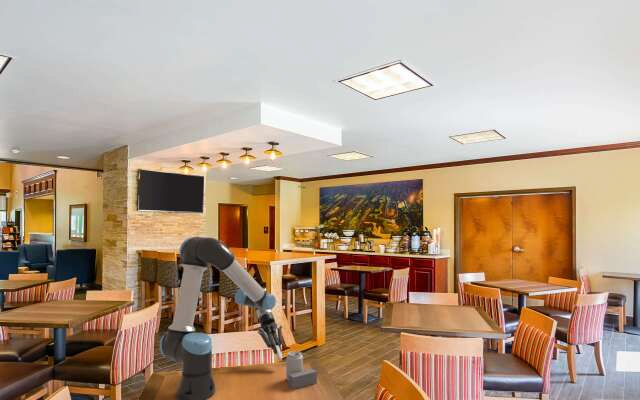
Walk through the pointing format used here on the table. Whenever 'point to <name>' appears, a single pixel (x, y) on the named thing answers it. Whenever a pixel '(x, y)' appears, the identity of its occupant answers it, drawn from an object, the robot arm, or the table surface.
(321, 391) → the table surface
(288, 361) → the can
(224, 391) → the table surface
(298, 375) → the block
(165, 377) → the table surface
